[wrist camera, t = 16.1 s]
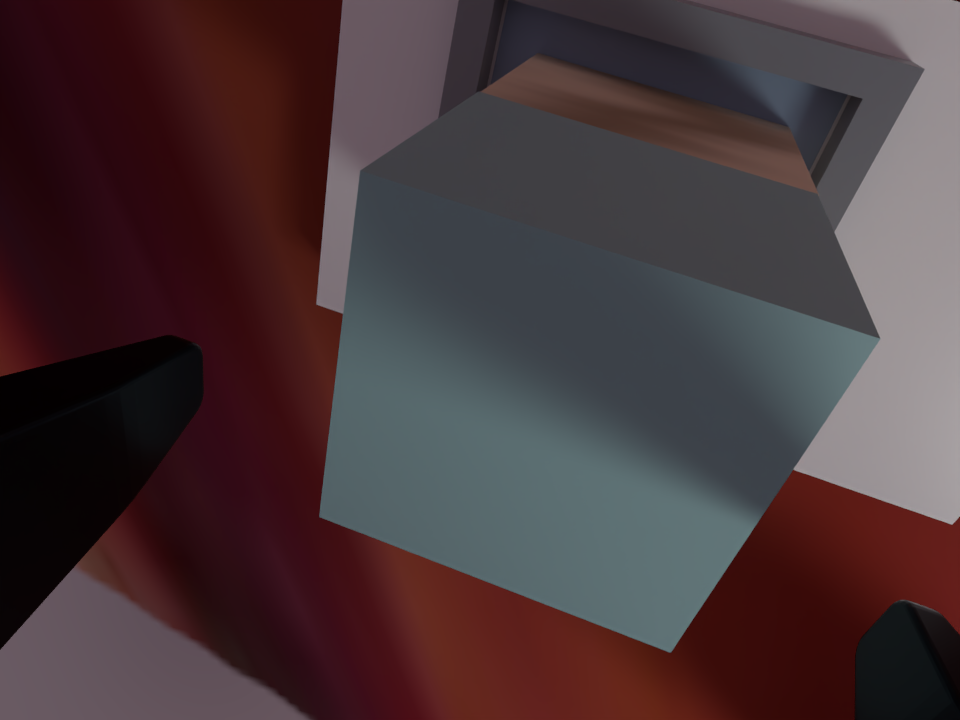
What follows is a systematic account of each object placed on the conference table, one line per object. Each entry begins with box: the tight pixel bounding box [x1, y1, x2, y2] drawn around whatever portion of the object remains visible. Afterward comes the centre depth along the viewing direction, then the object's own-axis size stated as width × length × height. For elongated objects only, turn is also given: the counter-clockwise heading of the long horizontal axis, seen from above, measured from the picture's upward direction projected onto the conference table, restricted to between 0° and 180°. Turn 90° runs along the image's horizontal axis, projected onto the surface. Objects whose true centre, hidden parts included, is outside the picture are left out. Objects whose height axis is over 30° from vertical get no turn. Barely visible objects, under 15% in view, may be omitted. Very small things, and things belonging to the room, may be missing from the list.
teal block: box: [319, 91, 880, 653], centre depth 11 cm, size 6×6×5 cm
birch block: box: [481, 53, 819, 196], centre depth 15 cm, size 6×6×5 cm
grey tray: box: [316, 0, 960, 524], centre depth 18 cm, size 20×12×3 cm, turn 78°
